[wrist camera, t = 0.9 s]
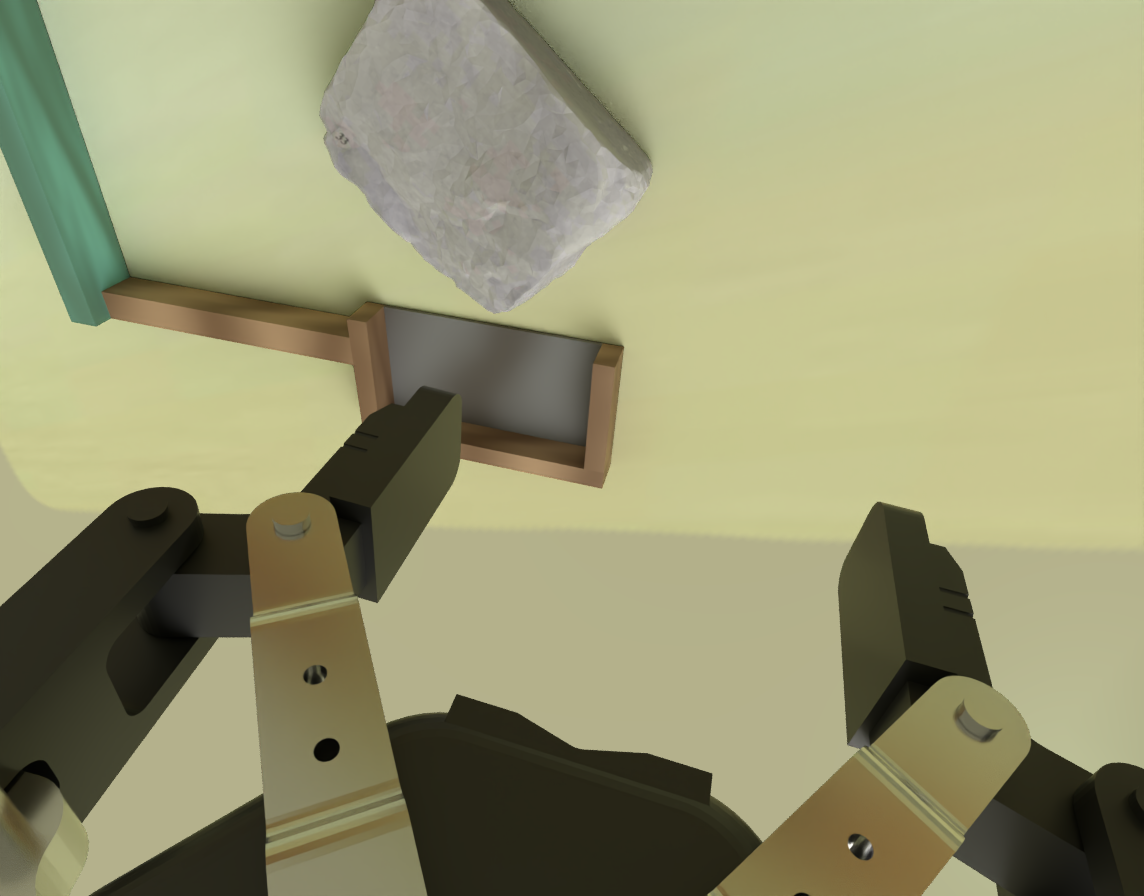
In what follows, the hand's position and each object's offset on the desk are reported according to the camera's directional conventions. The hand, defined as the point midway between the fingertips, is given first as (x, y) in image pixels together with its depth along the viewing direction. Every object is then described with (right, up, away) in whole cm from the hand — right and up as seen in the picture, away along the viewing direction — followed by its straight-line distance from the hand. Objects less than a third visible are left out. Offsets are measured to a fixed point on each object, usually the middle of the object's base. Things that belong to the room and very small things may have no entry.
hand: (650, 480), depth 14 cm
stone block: (-5, +13, +16) cm, 21 cm away
